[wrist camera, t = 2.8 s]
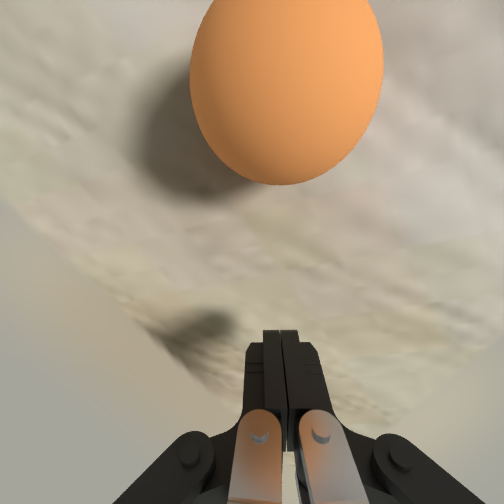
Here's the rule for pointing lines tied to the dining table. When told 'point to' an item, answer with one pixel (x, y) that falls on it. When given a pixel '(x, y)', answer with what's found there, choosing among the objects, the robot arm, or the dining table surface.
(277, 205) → the dining table surface
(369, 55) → the ball
